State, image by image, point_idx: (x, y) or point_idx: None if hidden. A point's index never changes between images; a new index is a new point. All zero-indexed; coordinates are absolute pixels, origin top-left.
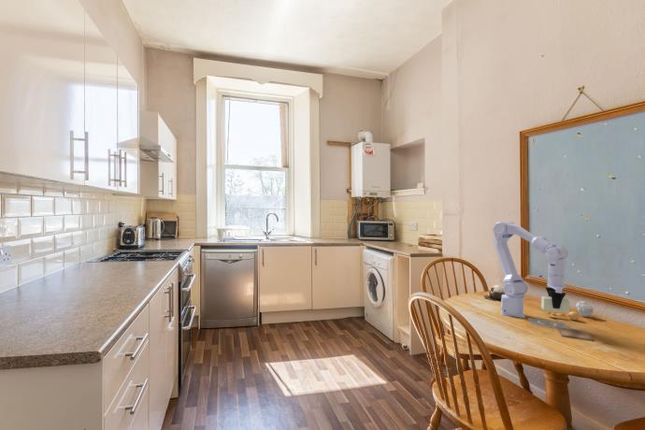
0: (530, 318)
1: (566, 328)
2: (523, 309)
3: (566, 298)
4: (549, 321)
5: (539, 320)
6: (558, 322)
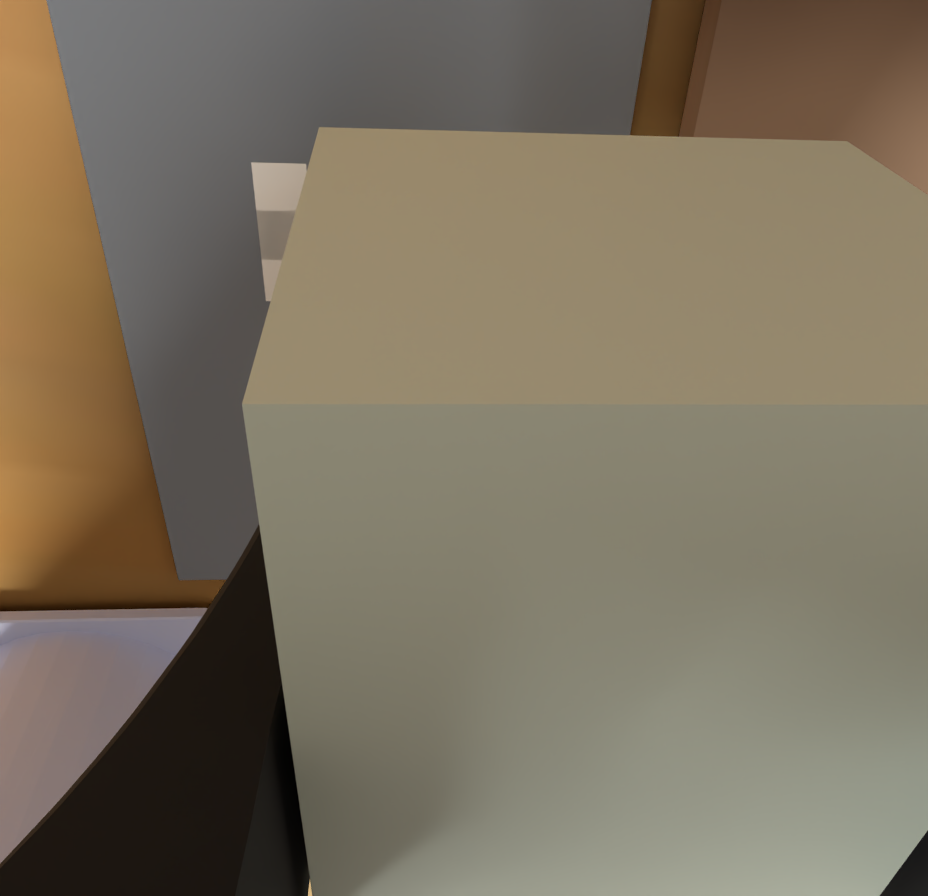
0: (194, 550)
1: (707, 85)
2: (73, 719)
3: (361, 412)
4: (177, 290)
5: (233, 445)
6: (126, 112)
